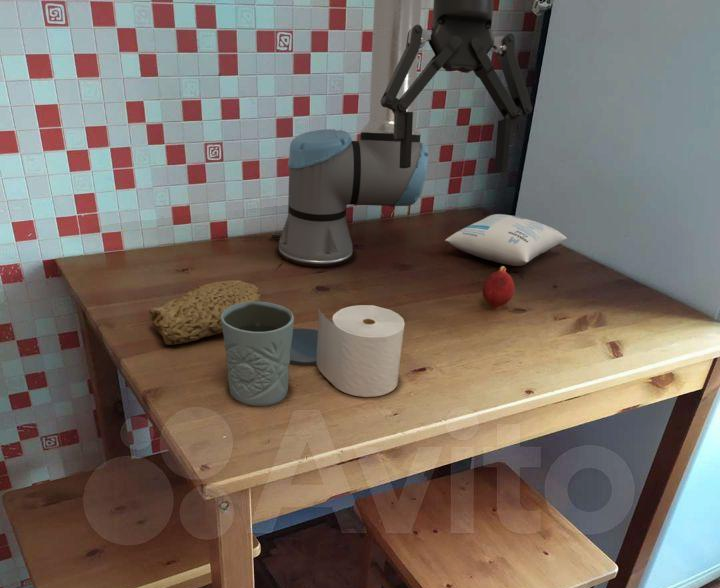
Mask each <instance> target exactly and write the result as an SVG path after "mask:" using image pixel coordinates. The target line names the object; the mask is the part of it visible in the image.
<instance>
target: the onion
mask: <svg viewBox="0 0 720 588" xmlns="http://www.w3.org/2000/svg"><path fill="white" fill-rule="evenodd" d="M514 294H515V283H514V280H513V277H512V276H511V275H510V274H509V273H508V272H507V268H506V266H504V265H501V266H500V268H499V269H498V270H497V271H495V272H492V273H491V274H490V275H489V276H488V277H487V278H486V279H485V281H484V283H483V286H482V296H483V298H484V300H485V301H486V303H487V304H488V305H489V306H490V307H492V309H498V308H501V307H503V306H505V305H506V304H508V303H509V302H510V301H511V300H512V299H513V298H514Z"/></svg>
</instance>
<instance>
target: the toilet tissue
mask: <svg viewBox="0 0 720 588" xmlns="http://www.w3.org/2000/svg"><path fill="white" fill-rule="evenodd" d="M317 319H318V321H317V323H318V324H317V330H318V339H317V361H316V364H315V365H316V366H317V369H318V371H319V372H320V373H321V374H322V376H323V377H325V378H326V380H327V381H328V382H329V383H331V384H332V386H334V388H335V389H337V390H339V391H341V392H343V393H345V394H348V395H351V396H355V397H363V398H372V397H379V396H384V395H387V394H389V393H391V392H392V391H394V390H395V389H396V388H397V386H398V383H399V376H400V374H399V373H400V365H401V359H402V358H401V357H402V348H403V342H404V333H405V323H406V322H405V320H404V318H403V317H402V316H401V315H400V314H399V313H398V312H395V311H394V310H391V309H388V308H386V307H385V308H384V307H381V306H378V305H373V304H371V305H370V304H365V305H362V304H360V305H359V304H358V305H351V306H346V307H343V308H340V309H339V310H337V311H335V313H333V314H332V321H330V320H329V319H328V318H327V317H326V316H325V315H324V314H323V312H322V311H321V309H318V318H317Z"/></svg>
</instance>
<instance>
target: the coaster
mask: <svg viewBox="0 0 720 588" xmlns="http://www.w3.org/2000/svg"><path fill="white" fill-rule="evenodd" d="M317 339H318V329H311V328H293V334H292V343H291V348H290V363H289V364H292V365H298V366H314V365H315V366H316V365H317V364H316V361H317Z"/></svg>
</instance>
